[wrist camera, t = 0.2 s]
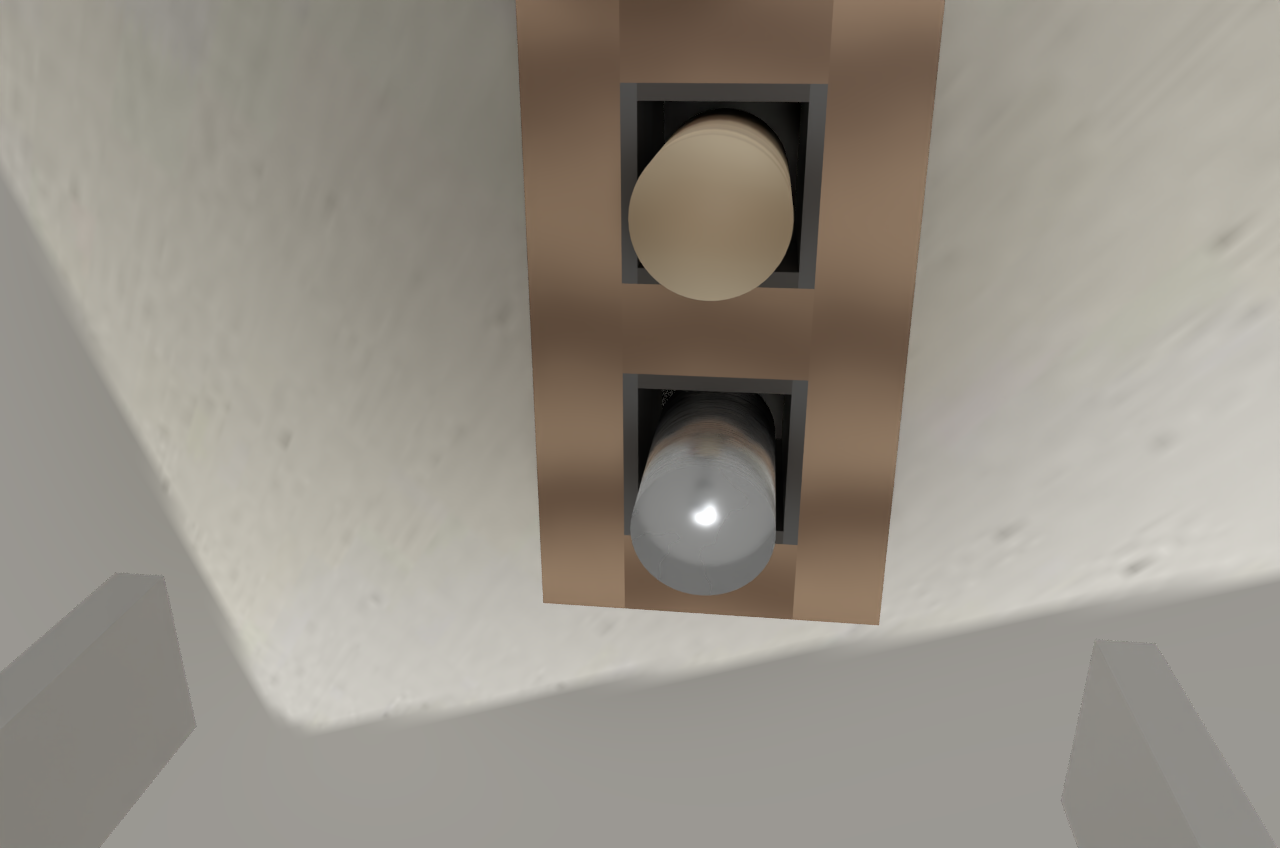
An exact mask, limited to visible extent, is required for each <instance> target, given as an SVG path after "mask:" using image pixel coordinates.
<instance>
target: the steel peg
mask: <svg viewBox="0 0 1280 848" xmlns="http://www.w3.org/2000/svg"><path fill="white" fill-rule="evenodd" d="M630 531H631V539H632V544H633V547H634V550H635V552H636V554H637V556H638V558H639V560H640V562H641V563H642V564H643V566H644V567H645V568H646V569H647V570H648V571H649V573H650V574H651V575H653V576H654V577H655V578H656V579H657V580H659V581H660V582H662V583H663V584H665V585H667V586H669V587H671V588H673V589H675V590H678V591H681V592H684V593H688V594H693V595H719V594H724V593H728V592H731V591H734V590H737V589H739V588H741V587H743V586H745V585H746V584H748V583H749V582H751V581H752V580H753V579H754V578H756V577H757V576H758V575H759V574H760V573H761V572H762V570H763V569H764V568H765V566H766V565H767V563H768V562H769V560H770V558H771V555H772V553H773V549H774V546H775V539H776V492H775V424H774V419H773V416H772V413H771V411H770V409H769V407H768V405H767V404H766V402H765V401H764V400H763V399H762V397H761V396H760V395H759V394H758V393H742V392H718V391H693V390H677V391H676V392H674V393H673V394H672V396H671V397H670V398H669V399H668V400H667V402H666V403H665V405H664V407H663V409H662V411H661V414H660V417H659V420H658V424H657V427H656V431H655V435H654V438H653V442H652V445H651V449H650V452H649V456H648V459H647V463H646V467H645V470H644V474H643V477H642V481H641V484H640V488H639V492H638V495H637V499H636V502H635V506H634V509H633V513H632V518H631V526H630Z"/></svg>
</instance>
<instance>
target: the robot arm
mask: <svg viewBox="0 0 1280 848" xmlns="http://www.w3.org/2000/svg"><path fill="white" fill-rule="evenodd" d="M195 728H196V721H195V717H194V712H193V707H192V703H191V698H190V693H189V689H188V684H187V680H186V675H185V670H184V666H183V661H182V656H181V652H180V648H179V643H178V638H177V633H176V629H175V624H174V619H173V615H172V610H171V606H170V601H169V596H168V592H167V587H166V582H165V578H164V576H157V575H144V574H129V573H115V574H114V575H112V576H111V577H110V578H109V579H108V580H106V581H105V582H104V583H103V584H102V585H101V586H100V587H98V588H97V589H96V590H95V591H94V592H93V593H91V594H90V595H89V596H88V597H87V598H86V599H84V600H83V601H82V602H81V603H80V604H79V605H77V606H76V607H75V608H74V609H73V610H72V611H71V612H69V613H68V614H67V615H66V616H65V617H64V618H62V619H61V620H60V621H59V622H58V623H57V624H56V625H54V626H53V627H52V628H51V629H50V630H49V631H47V632H46V633H45V634H44V635H43V636H42V637H40V638H39V639H38V640H37V641H36V642H35V643H34V644H32V645H31V646H30V647H29V648H28V649H27V650H25V651H24V652H23V653H22V654H21V655H20V656H19V657H17V658H16V659H15V660H14V661H13V662H12V663H10V664H9V665H8V666H7V667H6V668H5V669H3V670H2V671H1V672H0V848H100V847H101V845H102V844H103V843H104V842H105V840H106V839H107V838H108V837H109V835H110V834H111V833H112V832H113V830H114V829H115V828H116V826H117V825H118V824H119V823H120V822H121V820H122V819H123V818H124V817H125V815H126V814H127V813H128V812H129V810H130V809H131V808H132V807H133V805H134V804H135V803H136V802H137V800H138V799H139V798H140V797H141V795H142V794H143V793H144V792H145V790H146V789H147V788H148V787H149V785H150V784H151V783H152V782H153V780H154V779H155V778H156V777H157V775H158V774H159V773H160V772H161V770H162V769H163V768H164V767H165V765H166V764H167V763H168V762H169V760H170V759H171V758H172V757H173V755H174V754H175V753H176V752H177V750H178V749H179V748H180V746H181V745H182V744H183V743H184V741H185V740H186V739H187V738H188V737H189V735H190V734H191V733H192V732H193V730H194V729H195ZM1061 802H1062V805H1063V808H1064V811H1065V813H1066V816H1067V819H1068V821H1069V824H1070V827H1071V830H1072V832H1073V836H1074V838H1075V841H1076V844H1077V847H1078V848H1278V847H1277V846H1276V844H1275V842H1274V841H1273V839H1272V837H1271V835H1270V834H1269V832H1268V831H1267V829H1266V827H1265V826H1264V824H1263V822H1262V820H1261V819H1260V817H1259V815H1258V814H1257V812H1256V811H1255V809H1254V807H1253V805H1252V804H1251V802H1250V800H1249V799H1248V797H1247V795H1246V794H1245V792H1244V790H1243V789H1242V787H1241V785H1240V784H1239V782H1238V780H1237V779H1236V777H1235V775H1234V774H1233V772H1232V770H1231V769H1230V767H1229V765H1228V764H1227V762H1226V760H1225V759H1224V757H1223V755H1222V754H1221V752H1220V750H1219V749H1218V747H1217V745H1216V743H1215V742H1214V740H1213V739H1212V737H1211V735H1210V734H1209V732H1208V730H1207V728H1206V727H1205V725H1204V723H1203V722H1202V720H1201V719H1200V717H1199V715H1198V713H1197V712H1196V710H1195V708H1194V707H1193V705H1192V703H1191V702H1190V700H1189V698H1188V697H1187V695H1186V693H1185V692H1184V690H1183V688H1182V687H1181V685H1180V683H1179V682H1178V680H1177V678H1176V677H1175V675H1174V673H1173V672H1172V670H1171V668H1170V667H1169V665H1168V663H1167V661H1166V660H1165V658H1164V656H1163V655H1162V653H1161V651H1160V650H1159V648H1158V646H1157V645H1156V643H1141V642H1127V641H1126V642H1125V641H1112V640H1097V639H1096V640H1095V641H1094V646H1093V651H1092V656H1091V660H1090V665H1089V670H1088V675H1087V680H1086V684H1085V689H1084V694H1083V698H1082V703H1081V708H1080V713H1079V717H1078V722H1077V727H1076V732H1075V737H1074V742H1073V746H1072V751H1071V755H1070V760H1069V766H1068V770H1067V775H1066V779H1065V784H1064V789H1063V793H1062V799H1061Z"/></svg>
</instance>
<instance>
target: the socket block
mask: <svg viewBox="0 0 1280 848" xmlns="http://www.w3.org/2000/svg"><path fill="white" fill-rule="evenodd" d="M944 5H945V0H516V19H517V41H518V63H519V84H520V106H521V128H522V150H523V172H524V193H525V215H526V237H527V259H528V280H529V302H530V324H531V346H532V367H533V389H534V411H535V433H536V454H537V476H538V498H539V520H540V542H541V563H542V585H543V603H554V604H569V605H584V606H599V607H614V608H629V609H644V610H659V611H674V612H689V613H704V614H719V615H734V616H749V617H764V618H779V619H794V620H809V621H824V622H839V623H854V624H869V625H879V619H880V610H881V600H882V591H883V581H884V572H885V562H886V553H887V544H888V534H889V525H890V515H891V506H892V496H893V487H894V477H895V468H896V458H897V449H898V440H899V430H900V421H901V411H902V402H903V392H904V383H905V373H906V364H907V354H908V345H909V336H910V326H911V317H912V307H913V298H914V288H915V279H916V269H917V260H918V250H919V241H920V232H921V222H922V213H923V203H924V194H925V184H926V175H927V165H928V156H929V146H930V137H931V128H932V118H933V109H934V99H935V90H936V80H937V71H938V61H939V52H940V42H941V33H942V24H943V14H944ZM664 101H738V102H801V109H800V127H799V144H798V162H797V179H796V197H795V215H794V223H793V231H792V236H791V240H790V244H789V246H788V249H787V251H786V254H785V256H784V257H783V259H782V261H781V263H780V264H779V266H778V267H777V268H776V270H775V271H774V272H773V273H772V274H771V275H770V276H769V277H768V278H767V279H766V280H765V281H764V282H763V283H761V284H760V285H759V286H757V287H756V288H754V289H752V290H751V291H749V292H747V293H745V294H742V295H740V296H737V297H734V298H731V299H726V300H719V301H703V300H696V299H691V298H687V297H684V296H681V295H679V294H676V293H675V292H673V291H671V290H669V289H667V288H666V287H664V286H663V285H661V284H660V283H659V282H658V281H657V280H655V279H654V278H653V277H652V276H651V275H650V274H649V272H648V271H647V270H646V269H645V268H644V266H643V265H642V263H641V262H640V260H639V258H638V256H637V254H636V252H635V250H634V247H633V244H632V241H631V237H630V232H629V222H628V215H629V205H630V200H631V196H632V193H633V190H634V187H635V185H636V183H637V181H638V179H639V177H640V175H641V174H642V172H643V171H644V169H645V168H646V167H647V165H648V164H649V163H650V162H651V160H652V159H653V158H654V157H655V156H656V154H657V153H658V152H659V151H660V149H661V148H662V147H663V146H664ZM662 389H669V390H693V391H718V392H742V393H766V394H784V408H783V425H782V439H775V492H776V539H775V546H774V549H773V553H772V555H771V558H770V560H769V562H768V563H767V565H766V566H765V568H764V569H763V570H762V572H761V573H760V574H759V575H758V576H757V577H756V578H754V579H753V580H752V581H751V582H749V583H748V584H746V585H745V586H743V587H741V588H739V589H737V590H734V591H731V592H728V593H724V594H719V595H693V594H688V593H684V592H681V591H678V590H675V589H673V588H671V587H669V586H667V585H665V584H663V583H662V582H660V581H659V580H657V579H656V578H655V577H654V576H653V575H651V574H650V573H649V571H648V570H647V569H646V568H645V567H644V566H643V564H642V563H641V562H640V560H639V558H638V556H637V554H636V552H635V550H634V547H633V544H632V539H631V531H630V526H631V518H632V513H633V509H634V506H635V502H636V499H637V495H638V492H639V488H640V484H641V481H642V477H643V474H644V470H645V467H646V463H647V459H648V456H649V452H650V449H651V445H652V442H653V438H654V435H655V431H656V427H657V424H658V420H659V417H660V414H661V411H662Z"/></svg>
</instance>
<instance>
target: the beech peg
mask: <svg viewBox="0 0 1280 848" xmlns="http://www.w3.org/2000/svg"><path fill="white" fill-rule="evenodd" d="M628 222H629V232H630V237H631V241H632V244H633V247H634V250H635V252H636V254H637V256H638V258H639V260H640V262H641V263H642V265H643V266H644V268H645V269H646V270H647V271H648V272H649V274H650V275H651V276H652V277H653V278H654V279H655V280H657V281H658V282H659V283H660V284H661V285H663V286H664V287H666V288H667V289H669V290H671V291H673V292H675V293H676V294H679V295H681V296H684V297H687V298H691V299H696V300H703V301H719V300H726V299H731V298H734V297H737V296H740V295H742V294H745V293H747V292H749V291H751V290H752V289H754V288H756V287H757V286H759V285H760V284H761V283H763V282H764V281H765V280H766V279H767V278H768V277H769V276H770V275H771V274H772V273H773V272H774V271H775V270H776V268H777V267H778V266H779V264H780V263H781V261H782V259H783V257H784V256H785V254H786V251H787V249H788V246H789V244H790V240H791V236H792V231H793V223H794V217H793V202H792V192H791V182H790V172H789V164H788V158H787V155H786V151H785V149H784V147H783V144H782V142H781V141H780V139H779V137H778V136H777V134H776V133H775V132H774V131H773V129H772V128H771V127H770V126H769V125H768V124H767V123H765V122H764V121H763V120H761V119H760V118H758V117H756V116H755V115H753V114H751V113H748V112H745V111H742V110H738V109H731V108H718V109H712V110H708V111H705V112H702V113H699V114H697V115H695V116H693V117H692V118H690V119H689V120H687V121H686V122H684V123H683V124H682V125H681V126H680V127H679V128H678V129H677V130H676V131H675V132H674V133H673V135H672V136H671V137H670V138H669V140H668V141H667V142H666V143H665V144H664V146H663V147H662V148H661V149H660V151H659V152H658V153H657V154H656V156H655V157H654V158H653V159H652V160H651V162H650V163H649V164H648V165H647V167H646V168H645V169H644V171H643V172H642V174H641V175H640V177H639V179H638V181H637V183H636V185H635V187H634V190H633V193H632V196H631V200H630V205H629V215H628Z"/></svg>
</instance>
